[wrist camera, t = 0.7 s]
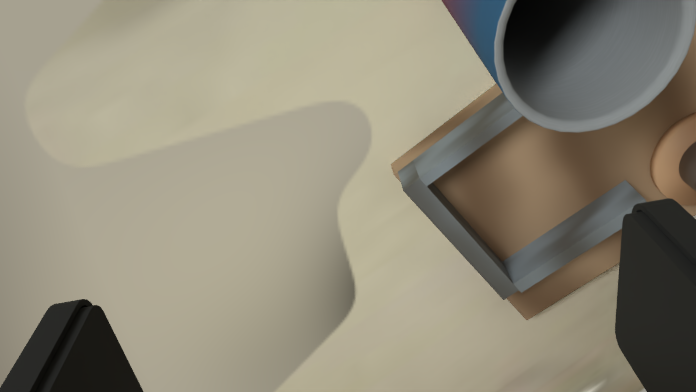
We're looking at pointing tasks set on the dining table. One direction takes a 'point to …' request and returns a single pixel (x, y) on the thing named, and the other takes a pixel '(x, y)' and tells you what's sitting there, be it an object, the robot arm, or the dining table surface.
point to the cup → (578, 54)
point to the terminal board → (550, 187)
